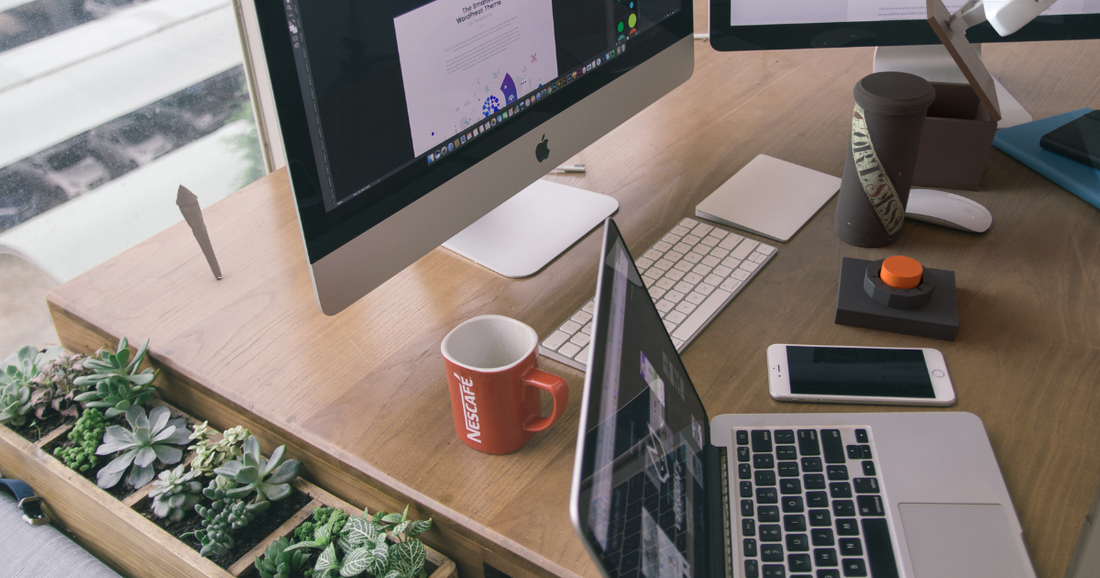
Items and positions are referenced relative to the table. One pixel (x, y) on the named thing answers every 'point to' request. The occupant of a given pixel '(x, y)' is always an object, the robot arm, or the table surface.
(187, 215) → the grey arrowhead stake
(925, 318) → the dark grey button base
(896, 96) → the container
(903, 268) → the button
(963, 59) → the brown piece
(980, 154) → the brown box
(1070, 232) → the table surface
